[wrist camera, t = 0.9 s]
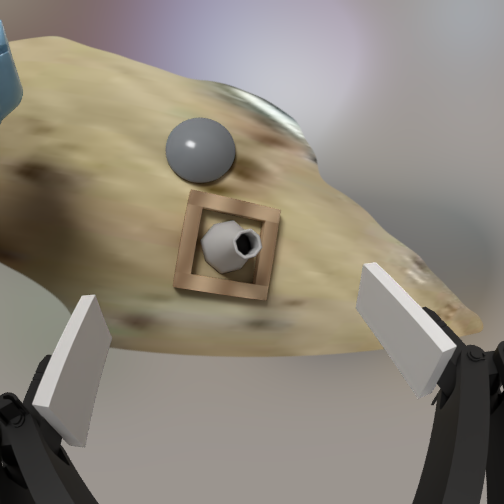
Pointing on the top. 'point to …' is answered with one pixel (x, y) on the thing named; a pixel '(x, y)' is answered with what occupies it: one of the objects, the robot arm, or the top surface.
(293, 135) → the top surface
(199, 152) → the coaster
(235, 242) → the flask
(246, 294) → the holder
